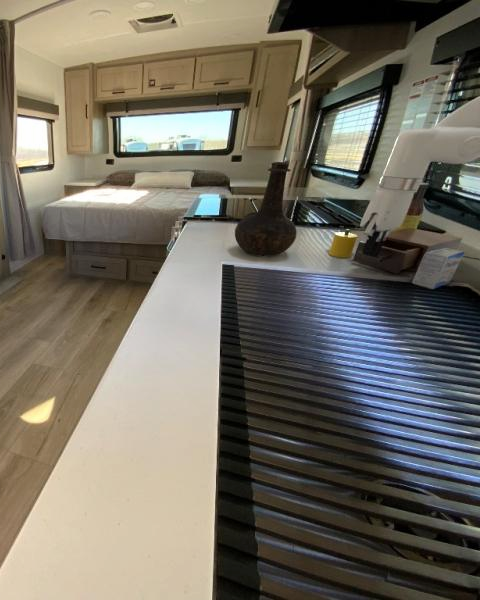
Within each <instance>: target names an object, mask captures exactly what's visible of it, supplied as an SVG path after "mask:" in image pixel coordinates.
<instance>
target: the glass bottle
mask: <svg viewBox="0 0 480 600" xmlns="http://www.w3.org/2000/svg"><path fill="white" fill-rule="evenodd" d="M270 164H271V167H269V168H268V169H267V171H269V176H268V180H267V185H266V188H265V191H264V195H263V198H262V201H261V203H260V206H259V208H258V210H257V212H256V211H253V212H250V213H248V214H246V215H245V216H244V217H243V218H242V219H241V220H240V221H239V222H238V223H237V224H236V226H235V228H234V237H235V241H236V243H237V245H238V247H240V249H241V250H242V251H244V252H245V253H246V254H248V255H252V256H256V257H273V256H277V255H280V254H283V253H284V252H286V251H287V250H288V249H290V248H291V246H292V245H293V244H294V243H295V241H296V239H297V234H298V232H297V227H296V225H295V223H294V222H293V221H292V220H291V219H290V218H288V217H287V216H285V213H284V195H285V186H286V181H287V180H286V179H287V173H289V172H291V171H292V170H291V169H290V168H289V165H290V164H289V163H288V162H283V161H274V162H271V163H270Z"/></svg>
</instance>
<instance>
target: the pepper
mask: <svg viewBox="0 0 480 600" xmlns="http://www.w3.org/2000/svg"><path fill="white" fill-rule="evenodd" d="M357 239H358V234H356V233H352V232H351V230H350V228H347V229H345V231H341V232H340V231H339V232H335V233H334V235H333V239H332V242H331V246H330V249H329V251H328V254H329V255H330V256H332V257H334V258H341V259H343V258H344V259H348V258H351V256H352V253H353V251H354V248H355V245H356V241H357Z"/></svg>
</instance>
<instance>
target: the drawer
mask: <svg viewBox="0 0 480 600" xmlns="http://www.w3.org/2000/svg"><path fill="white" fill-rule="evenodd" d="M365 243H366V241H363V240H361V241H359V242H358V244H357V247H356V250H355V253H354V255H353V259H352V261H353V262H356V263H360V264H363V265H366V266H369V267H373V268H376V269H380V270H383V271H386V272H390V273H394V274H400V273H401V271H402V270H407V269H406V268H410V267H414V266H416V264H417V262H418V260H419V258H420V256H421V253H422V251H423V249H424V248H422V247H417V246H413V245H409V244H404V243H400V242H395V241H391V240H387V239H386V240H385V241H384V243H383V245H382V248H381V250H380V252H379V254H378V255H376V256H371V255H367V254H364V253H362V251H363V248H364V246H365Z"/></svg>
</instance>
